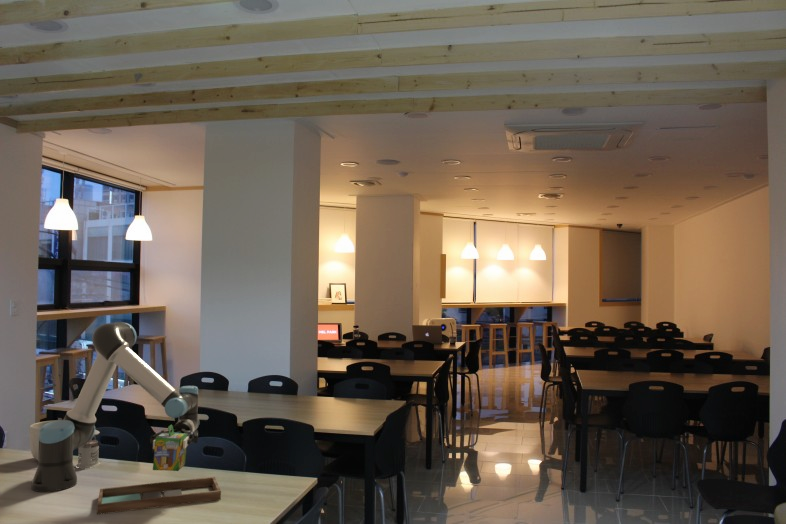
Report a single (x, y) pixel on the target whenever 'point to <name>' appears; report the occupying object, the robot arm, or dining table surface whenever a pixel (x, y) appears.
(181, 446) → the chalk box
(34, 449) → the planter
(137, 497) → the mat
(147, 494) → the mats
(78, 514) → the dining table surface
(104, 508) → the brown wooden tray
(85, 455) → the french press
